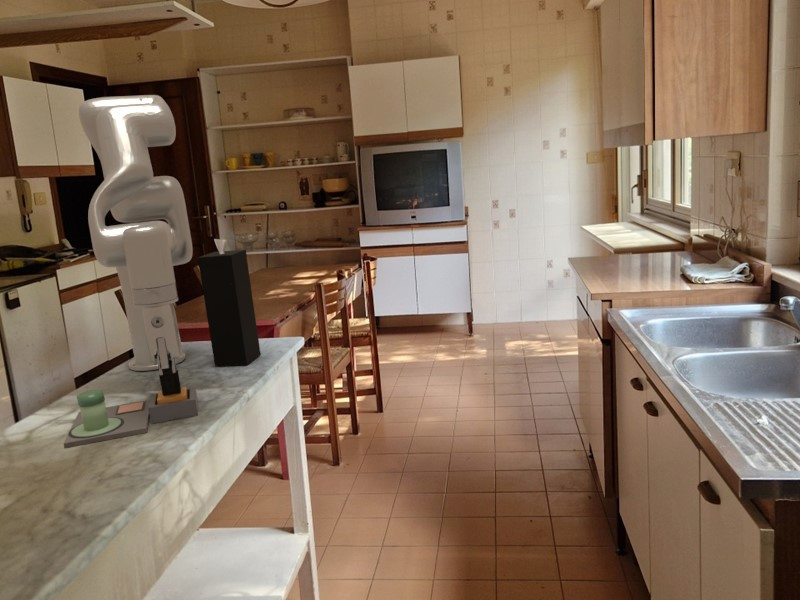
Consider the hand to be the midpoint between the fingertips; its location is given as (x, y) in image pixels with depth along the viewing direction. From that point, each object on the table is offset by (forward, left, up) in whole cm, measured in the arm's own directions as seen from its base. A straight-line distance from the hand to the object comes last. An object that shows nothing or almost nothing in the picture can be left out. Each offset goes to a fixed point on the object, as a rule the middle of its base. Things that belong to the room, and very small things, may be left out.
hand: (172, 393), depth 125 cm
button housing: (0, 0, -4) cm, 4 cm away
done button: (0, 0, -2) cm, 2 cm away
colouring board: (0, -11, -4) cm, 12 cm away
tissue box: (-28, +13, -4) cm, 31 cm away
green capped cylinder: (+3, -13, -3) cm, 14 cm away
